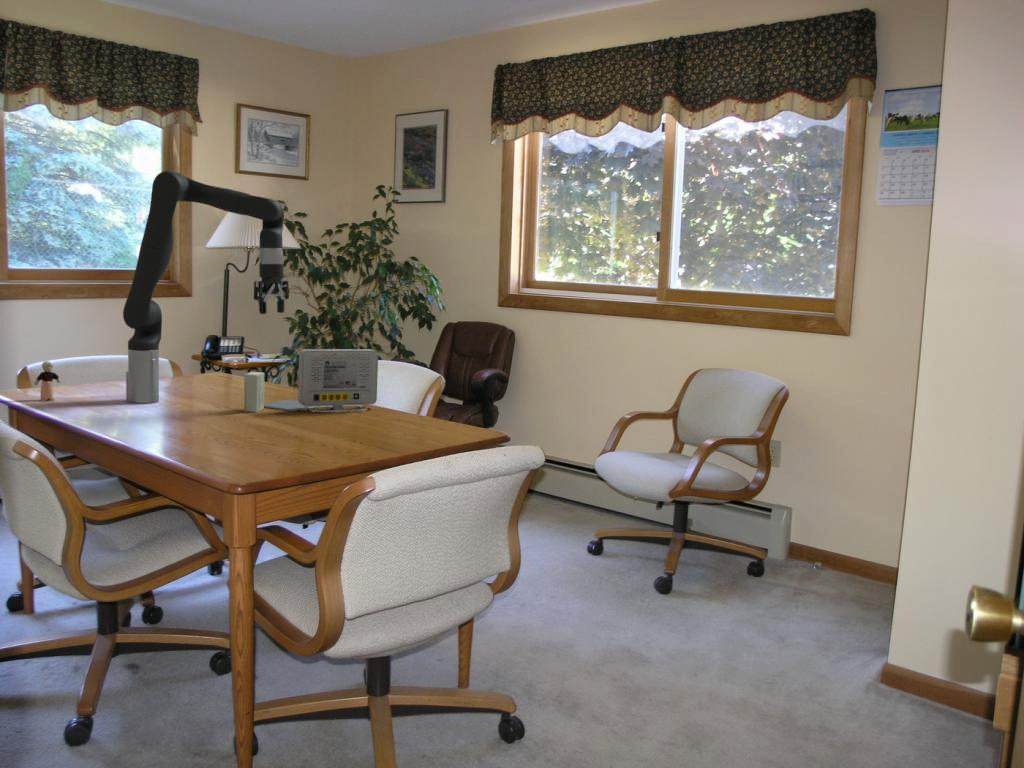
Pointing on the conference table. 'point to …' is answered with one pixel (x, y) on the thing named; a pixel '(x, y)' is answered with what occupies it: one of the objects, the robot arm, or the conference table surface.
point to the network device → (337, 378)
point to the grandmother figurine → (47, 381)
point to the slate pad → (286, 405)
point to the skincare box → (254, 392)
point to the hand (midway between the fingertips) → (271, 313)
